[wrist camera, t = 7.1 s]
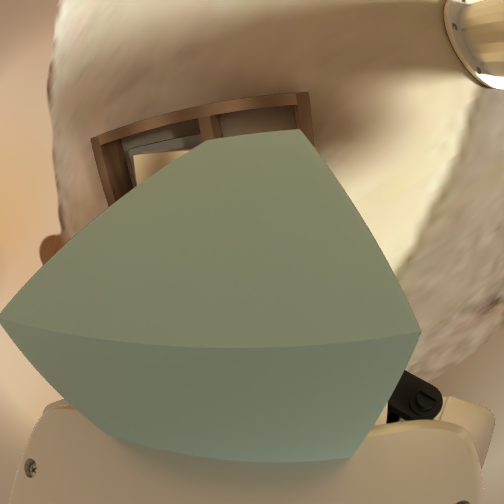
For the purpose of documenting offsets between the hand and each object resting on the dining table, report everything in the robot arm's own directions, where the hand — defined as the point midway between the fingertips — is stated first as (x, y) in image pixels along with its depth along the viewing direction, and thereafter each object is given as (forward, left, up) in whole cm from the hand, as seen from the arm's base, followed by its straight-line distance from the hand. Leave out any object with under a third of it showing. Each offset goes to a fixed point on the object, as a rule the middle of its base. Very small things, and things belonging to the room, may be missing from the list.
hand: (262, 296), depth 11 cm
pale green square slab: (0, 0, -4) cm, 4 cm away
